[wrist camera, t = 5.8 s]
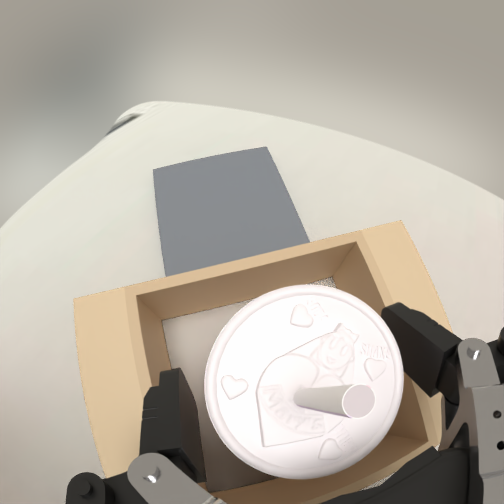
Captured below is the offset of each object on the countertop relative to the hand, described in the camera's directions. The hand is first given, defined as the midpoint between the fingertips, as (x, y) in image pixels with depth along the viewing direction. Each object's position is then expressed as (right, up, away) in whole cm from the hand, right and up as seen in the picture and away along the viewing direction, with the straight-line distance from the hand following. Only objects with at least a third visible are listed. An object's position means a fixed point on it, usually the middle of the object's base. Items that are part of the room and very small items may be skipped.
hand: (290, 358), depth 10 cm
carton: (0, -4, +6) cm, 8 cm away
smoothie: (0, -4, +6) cm, 8 cm away
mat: (-4, +7, +12) cm, 14 cm away
